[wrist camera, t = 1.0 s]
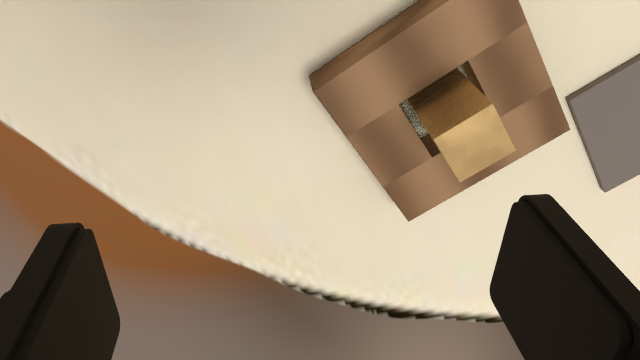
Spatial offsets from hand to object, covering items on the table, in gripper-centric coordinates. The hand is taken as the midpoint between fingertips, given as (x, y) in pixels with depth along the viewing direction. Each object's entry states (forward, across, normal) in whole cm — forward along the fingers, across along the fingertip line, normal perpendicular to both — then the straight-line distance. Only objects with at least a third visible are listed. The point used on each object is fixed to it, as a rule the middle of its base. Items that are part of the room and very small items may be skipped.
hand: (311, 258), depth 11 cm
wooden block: (+25, -12, +7) cm, 29 cm away
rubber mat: (+25, -30, +9) cm, 40 cm away
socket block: (+25, -12, +7) cm, 29 cm away
